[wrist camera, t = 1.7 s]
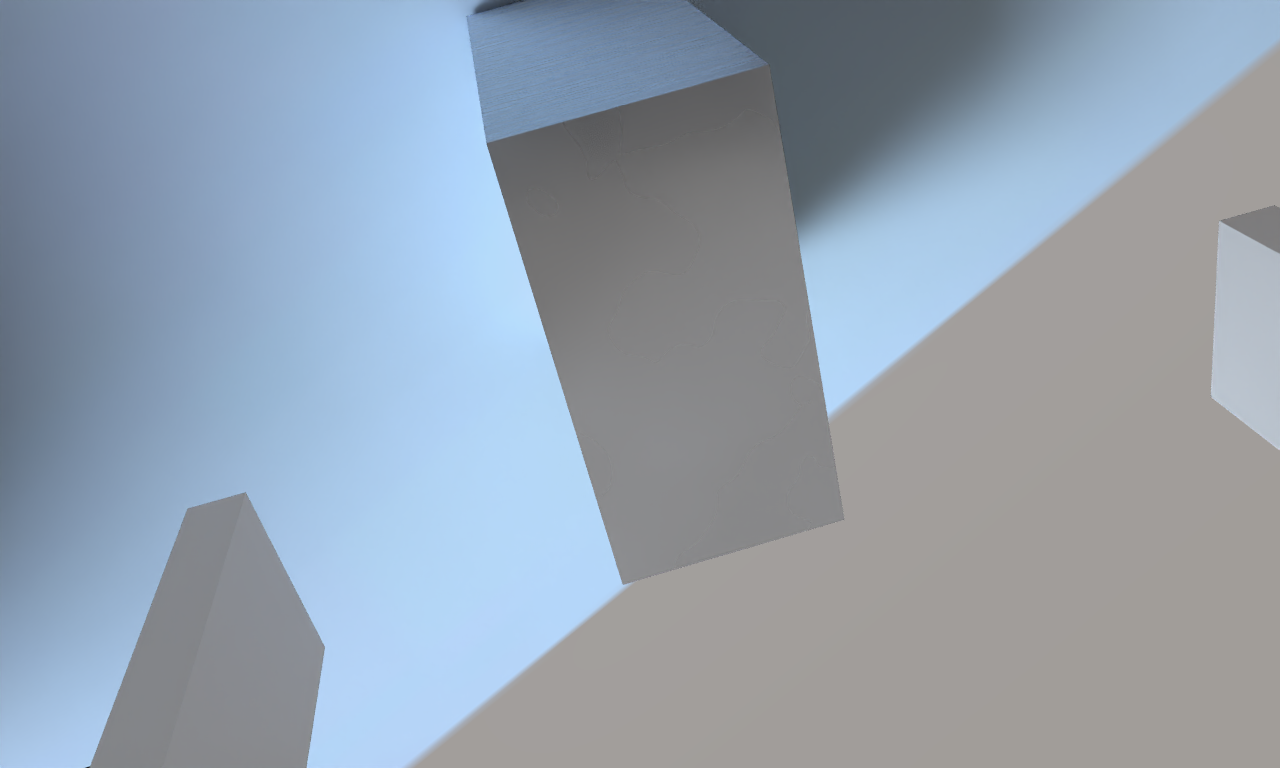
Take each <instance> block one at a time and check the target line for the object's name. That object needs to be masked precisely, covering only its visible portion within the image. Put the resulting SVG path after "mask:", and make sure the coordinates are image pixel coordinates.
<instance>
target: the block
mask: <svg viewBox="0 0 1280 768" xmlns="http://www.w3.org/2000/svg"><path fill="white" fill-rule="evenodd" d="M467 22H468V29H469V35H470V42H471V48H472V54H473V61H474V67H475V73H476V80H477V86H478V93H479V99H480V105H481V112H482V118H483V124H484V131H485V137H486V143H487V147H488V150H489V153H490V156H491V160H492V163H493V166H494V169H495V172H496V176H497V179H498V182H499V185H500V189H501V192H502V195H503V198H504V202H505V205H506V208H507V211H508V215H509V218H510V221H511V224H512V228H513V231H514V234H515V237H516V240H517V244H518V247H519V250H520V253H521V257H522V260H523V263H524V266H525V270H526V273H527V276H528V279H529V283H530V286H531V289H532V292H533V295H534V299H535V302H536V305H537V308H538V312H539V315H540V318H541V321H542V325H543V328H544V331H545V334H546V338H547V341H548V344H549V347H550V351H551V354H552V357H553V360H554V363H555V367H556V370H557V373H558V376H559V380H560V383H561V386H562V389H563V393H564V396H565V399H566V402H567V406H568V409H569V412H570V415H571V418H572V422H573V425H574V428H575V431H576V435H577V438H578V441H579V444H580V448H581V451H582V454H583V457H584V461H585V464H586V467H587V470H588V474H589V477H590V480H591V483H592V486H593V490H594V493H595V496H596V499H597V503H598V506H599V509H600V512H601V516H602V519H603V522H604V525H605V529H606V532H607V535H608V538H609V541H610V545H611V548H612V551H613V554H614V558H615V561H616V564H617V567H618V571H619V574H620V577H621V580H622V584H623V585H624V584H627V583H631V582H634V581H637V580H641V579H644V578H647V577H651V576H654V575H658V574H661V573H664V572H668V571H671V570H675V569H678V568H682V567H685V566H688V565H691V564H695V563H698V562H702V561H705V560H709V559H712V558H715V557H719V556H722V555H725V554H729V553H733V552H736V551H739V550H742V549H746V548H750V547H753V546H756V545H760V544H763V543H766V542H770V541H773V540H777V539H780V538H784V537H787V536H790V535H793V534H797V533H801V532H804V531H807V530H811V529H814V528H817V527H821V526H824V525H828V524H831V523H835V522H838V521H841V520H844V514H843V508H842V502H841V496H840V490H839V484H838V478H837V472H836V466H835V459H834V454H833V447H832V441H831V436H830V429H829V423H828V417H827V411H826V405H825V399H824V393H823V387H822V381H821V375H820V369H819V362H818V356H817V350H816V344H815V338H814V332H813V326H812V320H811V314H810V308H809V302H808V296H807V290H806V284H805V278H804V271H803V265H802V259H801V253H800V247H799V241H798V235H797V229H796V223H795V217H794V211H793V205H792V199H791V193H790V187H789V181H788V174H787V168H786V162H785V156H784V150H783V144H782V138H781V132H780V126H779V120H778V114H777V108H776V102H775V96H774V90H773V84H772V77H771V71H770V65H769V64H768V63H767V62H765V61H764V60H763V59H762V58H760V57H759V56H758V55H756V54H755V53H754V52H752V51H751V50H750V49H749V48H747V47H746V46H745V45H743V44H742V43H741V42H740V41H738V40H737V39H736V38H734V37H733V36H732V35H731V34H729V33H728V32H727V31H725V30H724V29H723V28H721V27H720V26H719V25H718V24H716V23H715V22H714V21H712V20H711V19H710V18H709V17H707V16H706V15H705V14H703V13H702V12H701V11H700V10H698V9H697V8H696V7H694V6H693V5H692V4H690V3H689V2H688V1H687V0H524V1H521V2H517V3H513V4H510V5H506V6H502V7H499V8H495V9H491V10H488V11H484V12H481V13H477V14H473V15H470V16H467Z"/></svg>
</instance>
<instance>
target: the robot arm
mask: <svg viewBox="0 0 1280 768" xmlns="http://www.w3.org/2000/svg"><path fill="white" fill-rule="evenodd" d="M1218 234H1219V235H1218V255H1217V277H1216V300H1215V319H1214V340H1213V362H1212V384H1211V397H1212V398H1213V399H1214V400H1216V401H1217V402H1218V403H1220V404H1221V405H1222V406H1223V407H1225V408H1226V409H1227V410H1228V411H1230V412H1231V413H1232V414H1234V415H1235V416H1236V417H1237V418H1239V419H1240V420H1241V421H1243V422H1244V423H1245V424H1247V425H1248V426H1249V427H1250V428H1252V429H1253V430H1254V431H1255V432H1257V433H1258V434H1259V435H1261V436H1262V437H1263V438H1264V439H1266V440H1267V441H1268V442H1269V443H1271V444H1272V445H1273V446H1274V447H1276V448H1277V449H1278V450H1280V208H1279V207H1277V206H1275V205H1274V206H1271V207H1267V208H1264V209H1260V210H1256V211H1253V212H1250V213H1246V214H1242V215H1238V216H1235V217H1231V218H1228V219H1224V220H1221V221H1219V233H1218ZM324 649H325V647H324V645H323V643H322V641H321V639H320V637H319V635H318V633H317V631H316V629H315V627H314V625H313V623H312V621H311V619H310V617H309V615H308V613H307V611H306V609H305V607H304V605H303V604H302V602H301V600H300V598H299V596H298V594H297V592H296V590H295V588H294V586H293V584H292V582H291V580H290V578H289V576H288V574H287V572H286V570H285V568H284V566H283V564H282V562H281V561H280V559H279V557H278V555H277V553H276V551H275V549H274V547H273V545H272V543H271V541H270V539H269V537H268V535H267V533H266V531H265V529H264V527H263V525H262V523H261V521H260V519H259V517H258V516H257V514H256V512H255V510H254V508H253V506H252V504H251V502H250V500H249V498H248V496H247V494H246V492H245V493H242V494H238V495H235V496H231V497H228V498H224V499H220V500H217V501H213V502H210V503H206V504H202V505H199V506H195V507H192V508H188V509H187V512H186V514H185V517H184V520H183V522H182V525H181V527H180V530H179V533H178V535H177V538H176V541H175V543H174V546H173V549H172V551H171V554H170V557H169V559H168V562H167V565H166V567H165V570H164V572H163V575H162V578H161V580H160V583H159V586H158V588H157V591H156V594H155V596H154V599H153V602H152V604H151V607H150V609H149V612H148V615H147V617H146V620H145V623H144V625H143V628H142V631H141V633H140V636H139V639H138V641H137V644H136V647H135V649H134V652H133V654H132V657H131V660H130V662H129V665H128V668H127V670H126V673H125V676H124V678H123V681H122V684H121V686H120V689H119V691H118V694H117V697H116V699H115V702H114V705H113V707H112V710H111V713H110V715H109V718H108V721H107V723H106V726H105V729H104V731H103V734H102V736H101V739H100V742H99V744H98V747H97V750H96V752H95V755H94V758H93V760H92V763H91V766H89V767H86V768H306V767H307V760H308V754H309V747H310V741H311V734H312V728H313V721H314V715H315V708H316V702H317V695H318V689H319V682H320V676H321V669H322V662H323V656H324Z"/></svg>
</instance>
